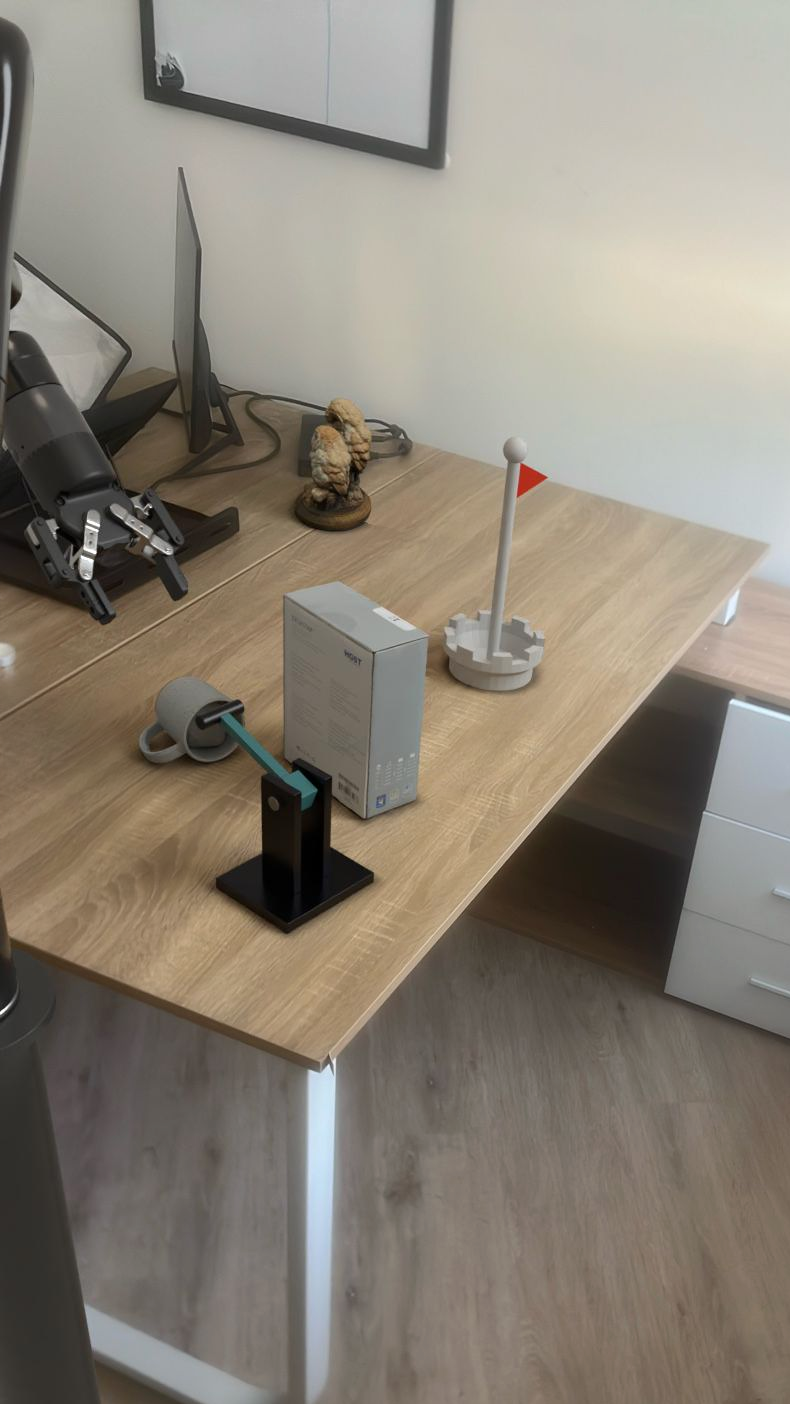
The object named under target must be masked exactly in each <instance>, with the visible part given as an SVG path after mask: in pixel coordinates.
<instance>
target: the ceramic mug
mask: <svg viewBox="0 0 790 1404" xmlns="http://www.w3.org/2000/svg"><path fill="white" fill-rule="evenodd" d="M231 701H234V699H232V698H230V697H229V696H227V695H226V694H225V693H223V692H222V691H220V690H219V689H218V688H216V687H215V686H213V685H212V684H210V683H209V682H207V681H206V680H204V679H201V678H199V677H196V676H191V675H181V676H178V677H175V678H173V679H171V680H169V681H168V682H167V683H165V685H163V686H162V688H161V689H160V691H158V694H157V697H156V699H155V704H154V712H155V716H156V720H155V721H154V722H152V723H151V724H149V725H148V726H147V727H146V728H145V729H144V730H143V732H141V734H140V736H139V739H138V746H139V748H140V751H141V752H142V754H143V756H145V759H147V760H148V761H149V762H151V763H153V764H165V763H169V762H172V761H174V760H176V759H178V758H180V757H182V756H183V755H185V754H187V755H188V756H189V757H191V758H192V759H194V760H195V761H197V762H202V763H214V762H218V761H220V760H223V759H225V758H227V757H229V756H230V755H231V754H232V753H233V752H234V751H235V750H236V749H237V747H238V746H239V744H238V743H237V742H236V741H235V740H234V739H233V738H232V737H231V736H230V735H229V734H228V733H227V732H226V731H225V730H224V729H223V728H222V727H221V726H220V725H219V724H217V725H214V726H212V727H210V728H207V729H205V730H200V729H199V728H198V727H197V725H196V723H195V718H196V716H198V715H200V714H203V713H205V712H207V711H210V710H212V709H215V708H217V707H219V706H222V705H224V704H226V703H229V702H231ZM233 718H234V719H235V720H236V721H237V722H238V723H239V724H240V725H241V726H242V727H243V728H244V729H245V728H246V727H245V726H246V724H245V723H246V722H245V716H244V713H242V714H240V715H238V716H235V717H233ZM163 731H164V732H165V733H166V734H167V735H168V736H169V737H170V738H172V739H173V741H175V743H176V744H174V745H172V746H170V747H167V748H165V749H161V750H158V751H151V750H150V749H151V748H150V746H149V745H150V743H151V742H152V740H153V739H154V738H156V736H158V735H159V734H160V733H161V732H163Z"/></svg>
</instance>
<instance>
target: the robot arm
mask: <svg viewBox="0 0 790 1404" xmlns="http://www.w3.org/2000/svg"><path fill="white" fill-rule="evenodd" d="M34 67H35V66H34V58H33V53H32V48H31V45H30V42H29V40H28V37H27V36H26V33H25V32H24V30H23V29H22V28H21V27H20V26H18V25H17V24H16V23H15V22H12V21H11V20H8V18H5V17H2V16H0V460H1V458H2V450H3V442H4V444H5V446H6V448H7V449H8V451H9V453H10V454H11V456H12V459H13V460H14V461H15V464H16V465H17V467H18V468H19V471H20V472H21V473H22V476H23V477H24V479H25V481H26V482H27V484H28V486H29V488H30V489H31V491H32V492H33V494H34V496H35V498H36V500H37V501H38V503H39V505H40V507H41V508H42V510H43V511H44V512H45V513H47V514H48V515H49V519H45V518H44V517H41V516H35V517H34V518H33V519H32V521H31V522H30V523H29V524H28V526H27V527H26V528H25V529H24V532H23V535H24V538H25V539H26V541H27V543H28V545H29V547H30V549H31V551H32V552H33V555H34V556H35V559H36V560H37V562H38V564H39V566H40V569H41V570H42V572H43V574H44V576H45V578H46V580H47V582H48V584H49V585H50V587H52V588H53V589H54V590H61V589H62V588H66V589H68V588H69V589H72V590H73V591H75V592H76V593H77V594H78V596H79V598H80V600H81V601H82V603H83V605H84V606H85V608H86V611H88V614H89V616H90V617H91V618H92V619H93V620H95V622H97V621H98V623H99V624H100V625H101V626H106V625H109V624H111V623H112V622H113V621H114V620H115V619H116V618H117V612H116V610H115V608H114V606H113V605H112V603H111V601H110V599H109V598H108V596H107V594H106V592H105V591H104V589H103V588H102V585H101V584H100V582H99V581H98V579H97V578H95V579H93V573H94V562H95V559H99V558H102V557H104V556H105V555H107V554H116V553H119V552H122V551H123V550H124V549H125V550H126V551H128V552H129V553H131V554H132V555H135V556H138V555H139V556H141V557H142V558H144V559H145V560H147V561H149V562H151V564H154V565H155V567H154V570H155V572H156V573H157V575H158V577H159V579H160V581H161V583H162V584H163V586H164V588H165V590H166V591H167V593H168V595H169V597H170V599H171V600H172V601H174V602H177V601H181V600H183V599H184V598H185V597H186V596H187V595H188V594H189V589H188V588H189V582H188V580H187V578H186V576H185V574H184V572H183V571H182V569H181V567H180V566H179V564H178V562H177V560H176V558H175V553H176V551H177V550H178V549H179V548H180V547H182V546H183V544H184V543H185V537H184V535H183V534H182V533H181V531H180V529H179V528H178V526H177V524H176V522H175V521H174V520H173V518H172V516H171V515H170V513H169V512H168V510H167V508H166V507H165V505H164V504H163V502H162V500H161V499H160V497H159V495H158V494H157V492H156V490H154V489H153V488H150V487H147V488H146V489H144V491H142V493H141V494H139V495H136V496H133V497H129V496H128V495H126V494H125V492H123V490H122V489H121V487H120V485H119V481H118V476H117V474H116V471H115V470H114V468H113V466H112V465H111V463H110V461H109V459H108V458H107V456H106V454H105V452H104V450H103V449H102V447H101V444H100V443H99V442H98V440H97V438H96V436H95V435H94V433H93V431H92V428H90V426H89V424H88V422H87V421H86V419H85V417H84V415H83V413H82V412H81V410H80V409H79V407H78V406H77V404H76V403H75V402H74V399H72V398H71V396H70V394H69V393H68V391H67V390H66V389H65V386H64V385H63V383H62V382H61V380H60V378H59V376H58V374H57V373H56V371H55V369H54V367H53V365H52V364H51V362H50V361H49V359H48V357H47V355H46V353H45V352H44V350H43V348H42V346H41V345H40V343H39V342H38V341H37V339H36V337H34V335H32V334H31V333H28V332H26V331H23V330H17V329H15V330H13V329H12V330H11V329H10V323H11V311H12V310H13V309H15V307H16V306H17V305H18V304H19V302H20V300H21V298H22V295H23V281H22V276H21V274H20V271H19V268H18V266H17V263H16V262H15V249H16V243H17V235H18V234H17V233H18V226H19V220H20V212H21V211H20V210H21V204H22V198H23V191H24V190H23V189H24V184H25V183H24V182H25V175H26V167H27V160H28V153H29V145H30V140H31V139H30V138H31V130H32V123H33V112H34V101H35V100H34V99H35V68H34ZM135 514H137V518H136V517H135ZM141 520H143V521H144V522H143V521H141ZM134 534H135V535H136V536H138V537H135V538H134ZM58 537H60V538H61V539H63V540H64V541H66V542H67V543H69V544H70V555H69V562H68V561H67V560H66V558H65V556H64V553H63V551H62V550H61V548H60V546H59V544H58V542H57V539H58ZM9 934H10V933H9V927H8V923H7V918H6V912H5V907H4V901H3V895H2V891H1V888H0V1022H1V1021H3V1020H4V1019H5V1018H6V1017H8V1016H9V1015H10V1014H11V1012H12V1011H13V1010H14V1009H15V1007H16V1005H17V1003H18V1001H19V998H20V987H19V982H18V978H17V975H16V969H15V966H14V961H13V955H12V950H11V947H12V944H11V939H10V935H9Z"/></svg>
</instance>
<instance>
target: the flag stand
mask: <svg viewBox="0 0 790 1404" xmlns="http://www.w3.org/2000/svg"><path fill="white" fill-rule="evenodd" d="M502 447H503V448H502V453H503V456H504V458H505V459H506V460H507V464H506V465H507V466H506V473H505V474H506V475H505V483H504V492H503V499H502V500H503V502H502V510H501V520H500V529H499V538H498V547H497V549H498V550H497V556H496V565H495V574H494V583H493V591H492V601H491V610H487V609H486V610H485V609H483V610H481V609H478V610H477V614H476V615H477V616H476V618H467V617H468V616H467V615H465V614H464V613H462V612H461V613H460V612H459V613H457V614H455V615H453V616H451V617H449V620H448V626H444V628H443V638H442V646H443V651H444V653H446V655H447V656H448V657H449V661H448V662H449V663H448V668H449V672H450V673H451V675H452V677H454V678H455V679H456V680H458V681H459V682H461V683H463V684H465V685H468V686H470V687H472V688H477V689H479V690H484V691H485V690H486V691H494V692H495V691H496V692H504V691H513V690H516V689H520V688H522V687H524V686H526V685H528V683H530V681H531V680H532V676H533V673H534V672H533V670H534V668H535V667H536V666H538V665H539V664H540V663H541V661H542V660H543V656H544V649H545V641H546V638H545V637H546V636H545V634H544V632H543V630H542V629H538V630H537V629H535V630H533V631H532V630H531V623H532V621H531V620H529V619H527V618H524V617H522V616H519V615H516V614H515V615H513V616H512V617H511V621H508V620H503V617H504V607H505V600H506V591H507V582H508V575H509V567H510V566H509V565H510V556H511V550H512V549H511V547H512V541H513V540H512V539H513V533H514V532H513V531H514V521H515V514H516V505H517V499H518V498H520V497H521V496H523V495H524V494H525V493H527V492H529V491H530V490H531V489H533V488H535V487H536V486H538V485H539V484H542V482H544V481H545V480H547V479H548V478H549V476H547V475H545V474H543V473H541V472H539V471H537V470H536V469H534V468H533V467H530V466H528V465H527V464H525V463H523V461H525V460H526V458H527V457H528V453H529V447H528V444H527V442H526V441H525V439H524V438H521V437H519V436H512V437H510V438H507V440H506V441H505V442H504V444H503V446H502Z"/></svg>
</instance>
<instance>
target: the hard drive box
mask: <svg viewBox="0 0 790 1404" xmlns="http://www.w3.org/2000/svg"><path fill="white" fill-rule="evenodd" d="M282 620H283V621H282V626H283V627H282V651H283V652H282V653H283V654H282V655H283V659H282V661H283V662H282V663H283V665H282V667H283V669H282V676H283V677H282V678H283V679H282V680H283V681H282V683H283V699H282V700H283V704H282V705H283V706H282V707H283V716H282V717H283V758H284V759H285V760H287V761H288V762H289V763H290V764H292V761H293V760H295V759H297V758H301V759H303V760H305V761H306V762H308V763H310V764H312V765H313V766H315V767H317V768H319V769H320V770H322V771H324V772H326V773H327V774H329V775H331V776H332V797H334V798H336V799H337V800H338V801H339V802H340V803H342V804H343V805H344V806H346V807H347V808H348V809H350V810H352V811H353V812H354V813H355V814H357V815H358V816H359V817H360V818H361V819H370V818H372V817H376V816H377V815H380V814H382V813H385V812H387V811H390V810H393V809H395V808H398V807H401V806H403V805H405V804H408V803H411V802H414V801H416V800H417V793H418V781H419V770H420V769H419V768H420V754H421V741H422V728H423V727H422V726H423V715H424V701H425V689H426V688H425V687H426V676H427V675H426V673H427V672H426V671H427V661H428V660H427V659H428V647H429V646H428V645H429V638H430V635H429V634H428V633H426V632H424V631H423V630H422V629H419V628H418V627H417V626H415V625H413V624H411V623H410V622H408V621H406V620H404V619H403V618H402V617H400V616H398V615H396V614H395V613H393V612H392V611H390V610H388V609H386V608H385V607H383V606H382V605H380V604H378V603H376V602H375V601H373V600H371V599H369V598H368V597H366V596H365V595H363V594H361V593H359V592H358V591H356V590H354V589H353V588H351V587H349V586H347V585H346V584H344V583H342V582H341V581H339V580H337V581H332V582H328V583H324V584H320V585H316V586H311V587H307V588H303V589H299V590H298V589H297V590H295V591H291V592H285V593H283V595H282Z"/></svg>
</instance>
